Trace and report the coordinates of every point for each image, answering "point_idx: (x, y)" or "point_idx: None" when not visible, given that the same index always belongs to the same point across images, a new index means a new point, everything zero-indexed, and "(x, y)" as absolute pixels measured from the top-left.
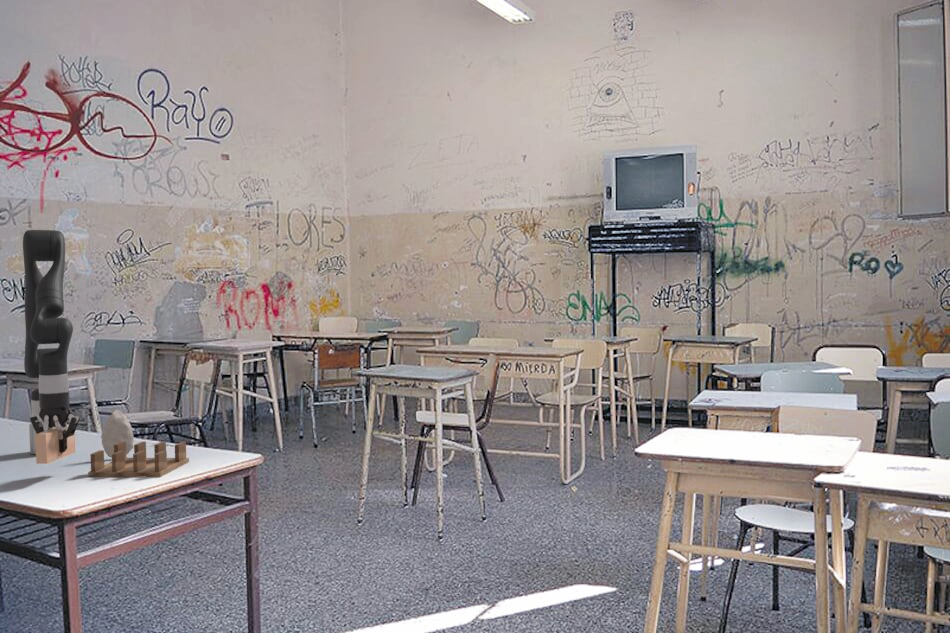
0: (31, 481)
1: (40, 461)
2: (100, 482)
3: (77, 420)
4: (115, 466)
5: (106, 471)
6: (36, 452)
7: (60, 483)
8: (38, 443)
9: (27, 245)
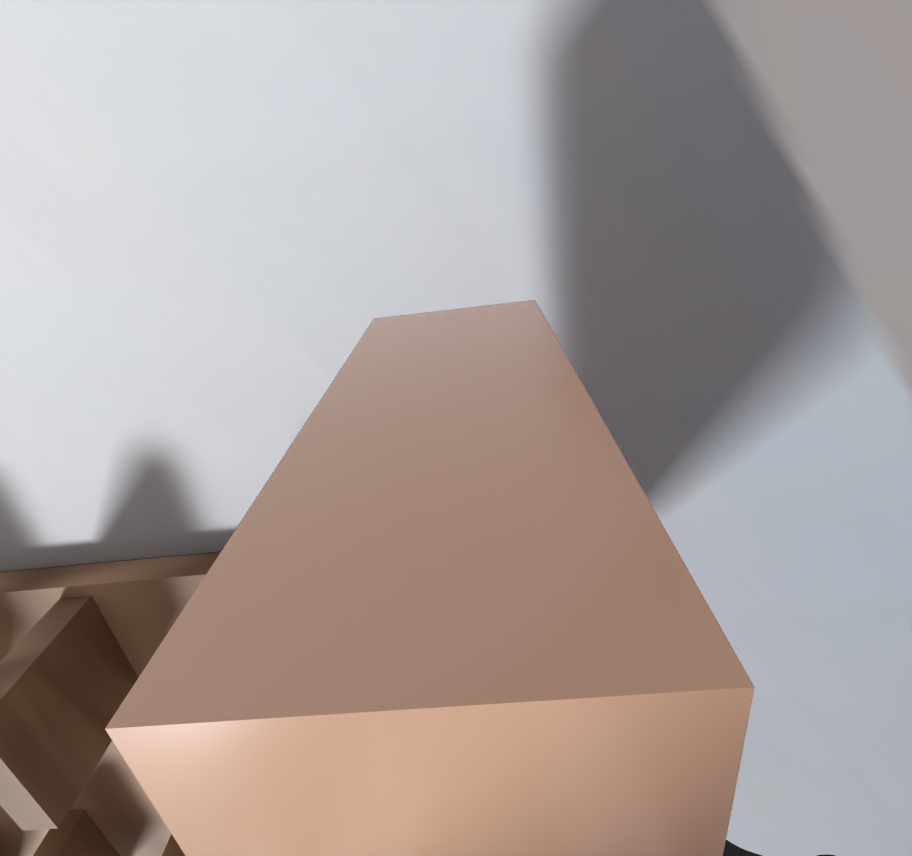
0: (640, 353)
1: (470, 313)
2: (15, 406)
3: None
4: (34, 631)
5: (147, 600)
6: (553, 352)
7: (322, 326)
8: (513, 438)
9: None
